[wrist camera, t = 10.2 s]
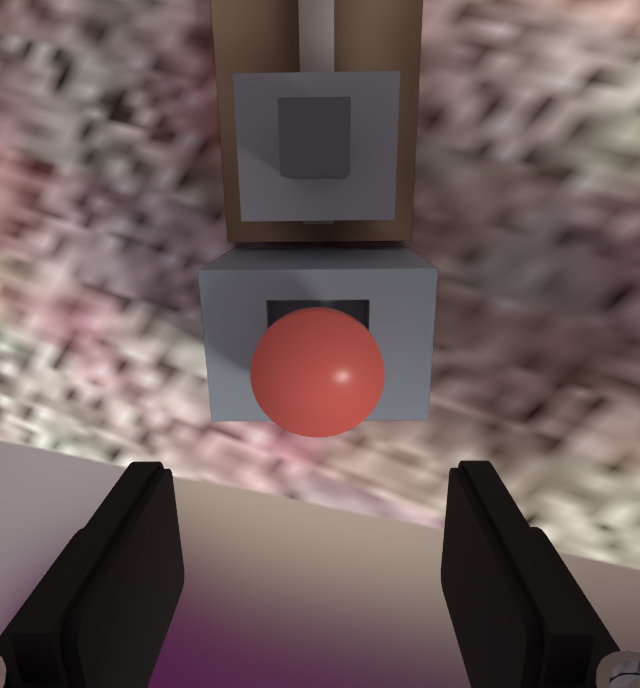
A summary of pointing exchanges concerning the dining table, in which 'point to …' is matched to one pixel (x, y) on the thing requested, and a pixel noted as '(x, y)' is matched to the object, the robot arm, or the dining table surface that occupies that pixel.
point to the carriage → (317, 145)
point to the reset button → (317, 372)
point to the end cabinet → (324, 291)
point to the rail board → (318, 56)
